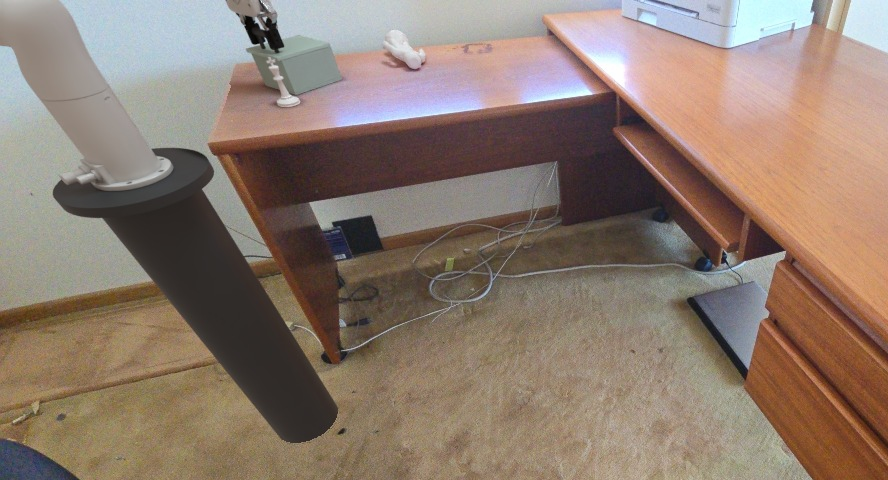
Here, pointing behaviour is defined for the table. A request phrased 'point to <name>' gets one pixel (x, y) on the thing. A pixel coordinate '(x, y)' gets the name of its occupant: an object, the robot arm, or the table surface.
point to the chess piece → (282, 88)
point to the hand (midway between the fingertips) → (268, 45)
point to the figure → (403, 49)
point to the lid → (286, 46)
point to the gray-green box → (301, 71)
